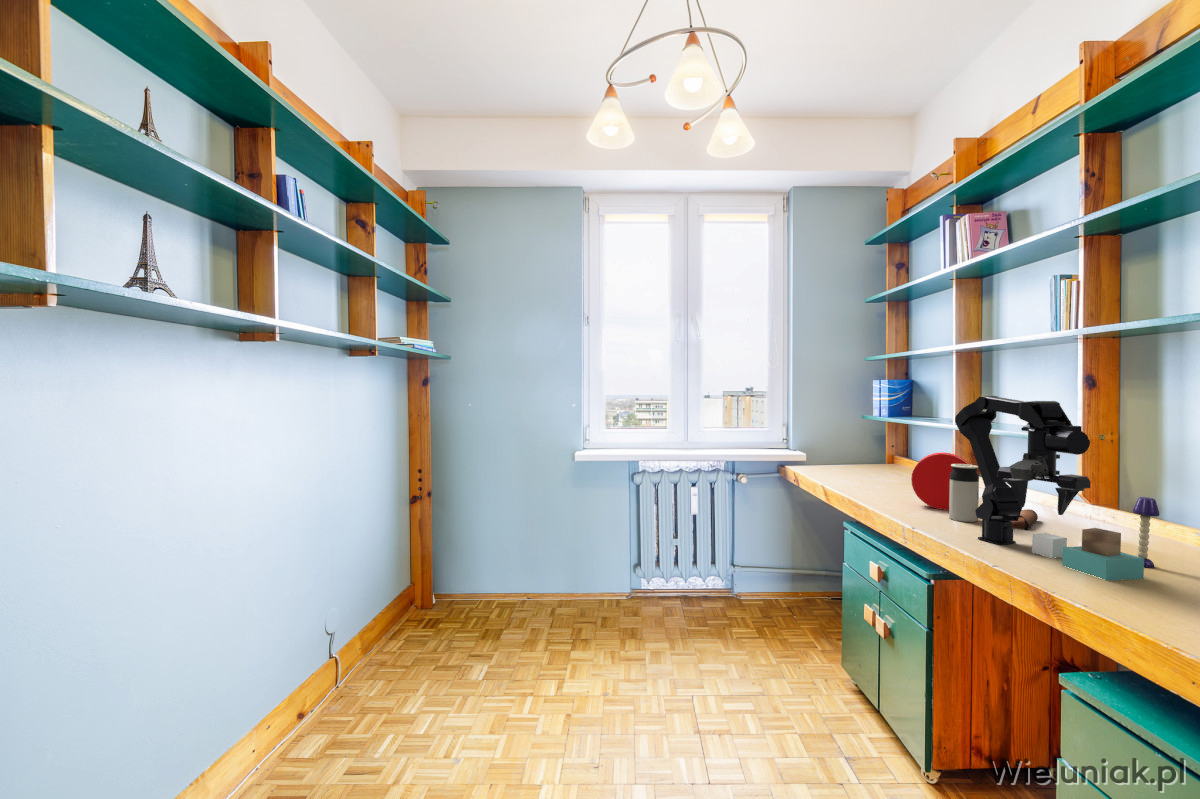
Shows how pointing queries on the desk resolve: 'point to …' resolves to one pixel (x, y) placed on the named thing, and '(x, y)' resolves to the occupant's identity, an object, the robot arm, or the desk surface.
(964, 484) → the travel mug
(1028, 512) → the sunglasses case
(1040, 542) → the grey cube
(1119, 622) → the desk surface
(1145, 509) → the toy lamp
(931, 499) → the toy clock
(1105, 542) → the walnut cube
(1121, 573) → the teal base block
